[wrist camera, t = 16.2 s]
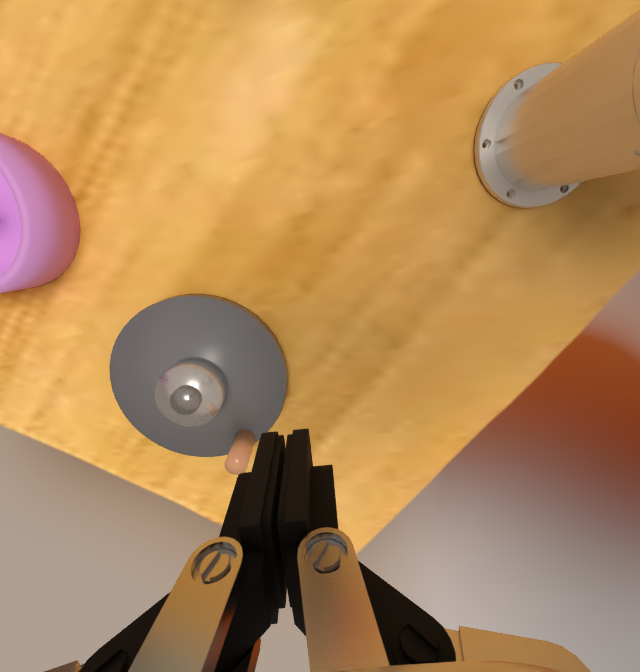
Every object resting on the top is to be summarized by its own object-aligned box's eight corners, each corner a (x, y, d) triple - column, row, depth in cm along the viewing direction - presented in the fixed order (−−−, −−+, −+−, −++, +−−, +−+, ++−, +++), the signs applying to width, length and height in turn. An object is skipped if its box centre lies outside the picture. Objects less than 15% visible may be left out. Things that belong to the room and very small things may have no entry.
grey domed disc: (218, 258, 36) (197, 263, 29) (318, 396, 41) (320, 428, 34) (83, 354, 38) (34, 378, 32) (192, 472, 43) (171, 514, 37)
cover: (199, 345, 36) (185, 357, 32) (240, 390, 38) (232, 407, 34) (153, 380, 37) (135, 396, 33) (195, 422, 39) (183, 443, 35)
